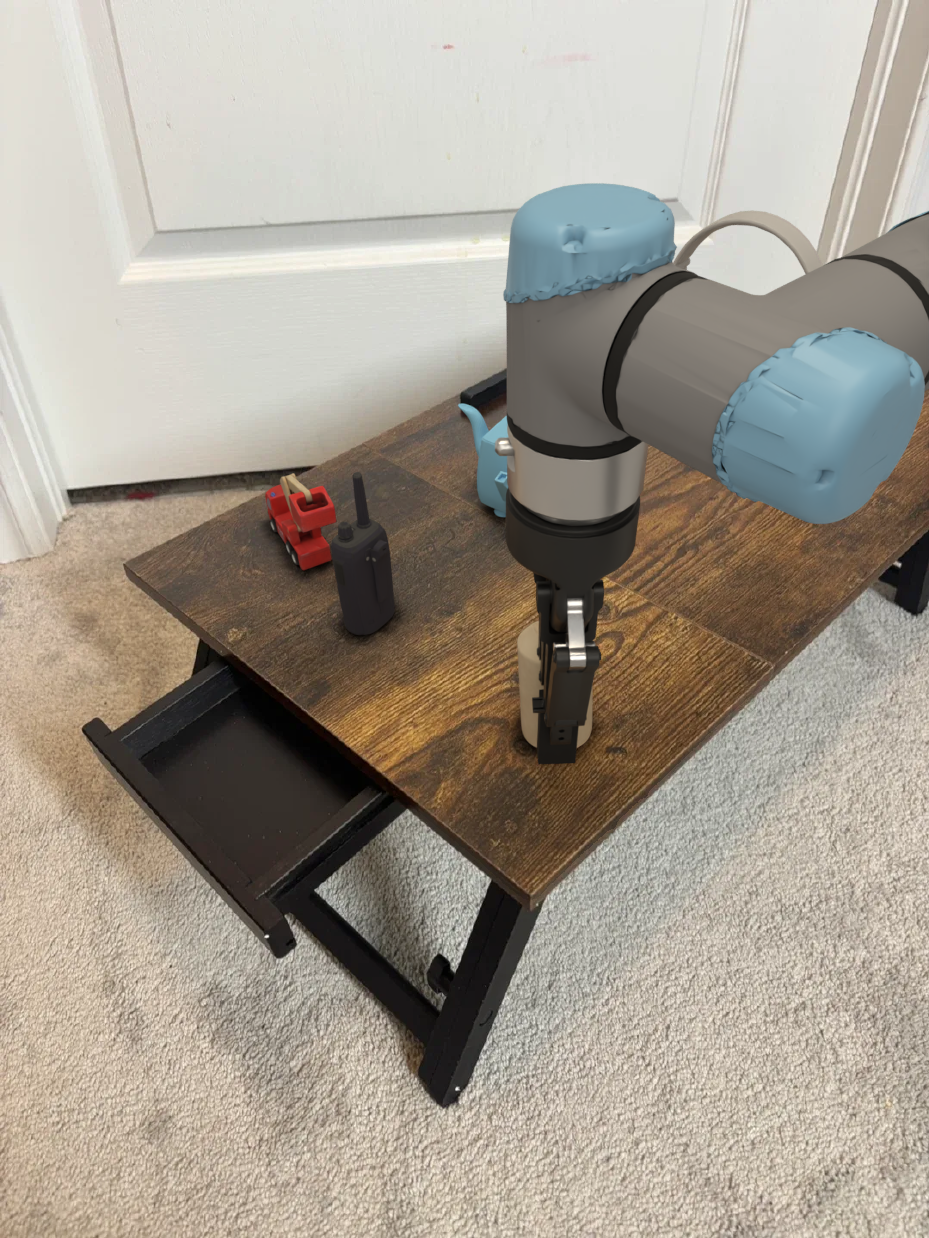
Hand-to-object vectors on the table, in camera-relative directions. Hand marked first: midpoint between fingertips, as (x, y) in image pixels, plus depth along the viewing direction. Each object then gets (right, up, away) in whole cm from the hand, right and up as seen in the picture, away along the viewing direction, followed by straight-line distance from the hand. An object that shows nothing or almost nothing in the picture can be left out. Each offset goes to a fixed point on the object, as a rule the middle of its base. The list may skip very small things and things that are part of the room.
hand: (555, 756), depth 68 cm
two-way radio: (-15, +9, +16) cm, 23 cm away
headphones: (+26, +39, +45) cm, 65 cm away
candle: (+1, +1, +5) cm, 5 cm away
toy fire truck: (-22, +16, +24) cm, 36 cm away
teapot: (0, +21, +27) cm, 35 cm away
